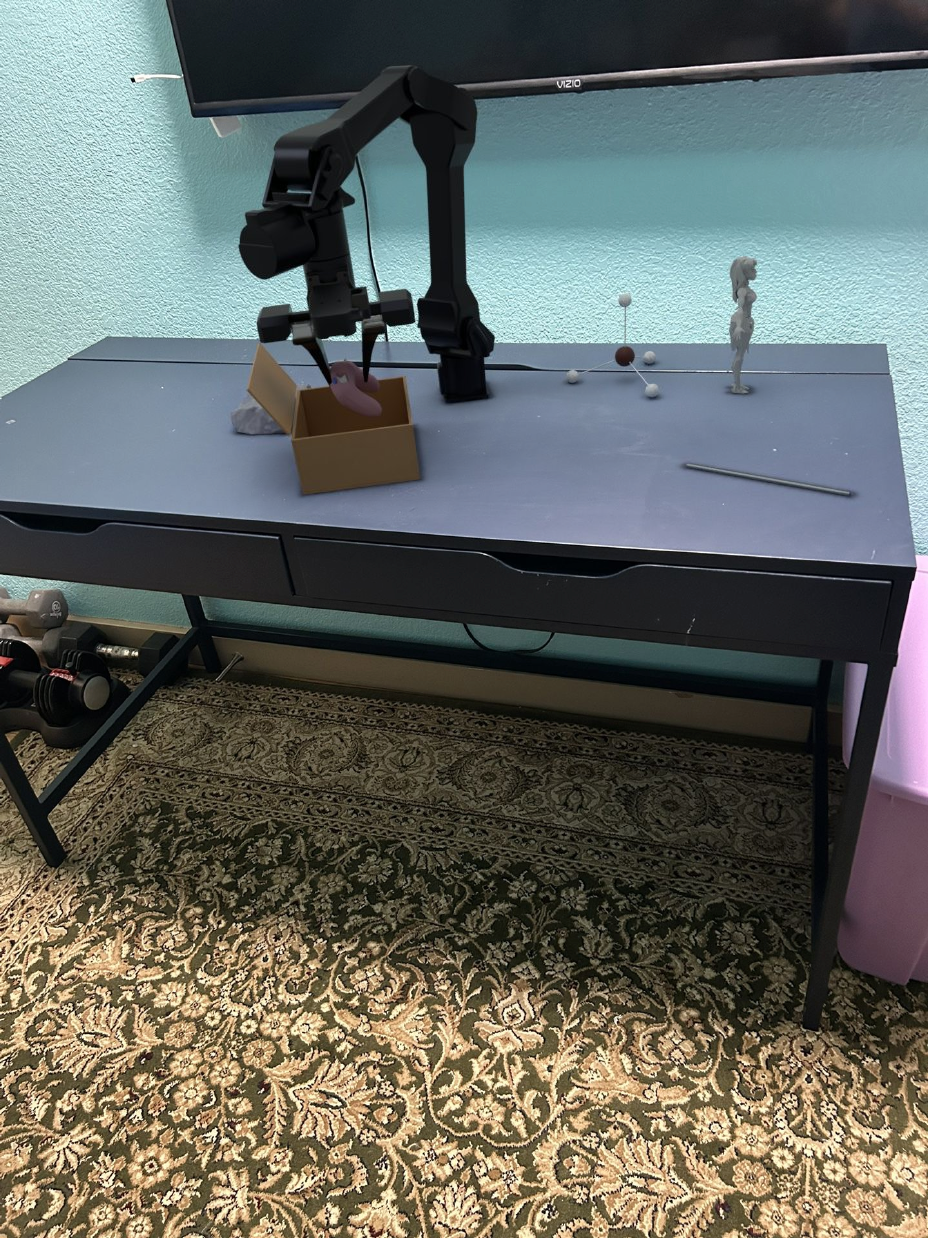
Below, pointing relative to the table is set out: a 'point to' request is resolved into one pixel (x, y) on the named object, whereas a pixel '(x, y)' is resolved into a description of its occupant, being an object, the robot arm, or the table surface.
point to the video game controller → (354, 389)
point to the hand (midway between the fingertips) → (348, 383)
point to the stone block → (257, 417)
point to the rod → (769, 479)
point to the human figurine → (741, 315)
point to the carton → (353, 440)
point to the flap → (272, 389)
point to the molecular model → (624, 355)
